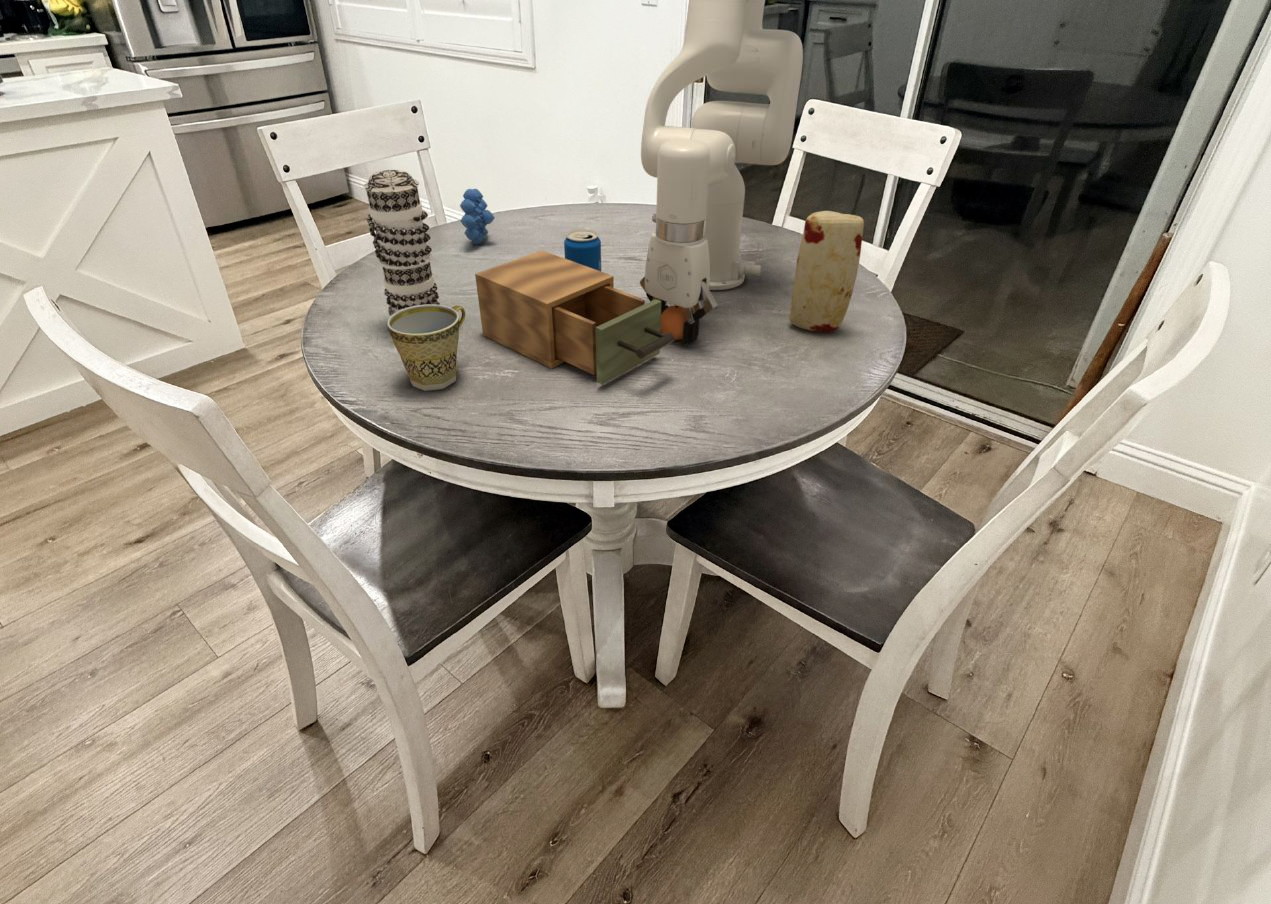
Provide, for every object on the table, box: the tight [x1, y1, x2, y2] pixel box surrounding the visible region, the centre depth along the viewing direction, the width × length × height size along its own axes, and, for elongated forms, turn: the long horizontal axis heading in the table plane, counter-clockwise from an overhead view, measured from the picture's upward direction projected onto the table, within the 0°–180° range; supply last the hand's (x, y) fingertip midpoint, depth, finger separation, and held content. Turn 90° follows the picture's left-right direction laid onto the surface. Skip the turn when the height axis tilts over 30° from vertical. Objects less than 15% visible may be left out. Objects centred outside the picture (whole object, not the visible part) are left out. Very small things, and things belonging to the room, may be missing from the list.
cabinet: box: [474, 250, 615, 369], centre depth 115 cm, size 17×14×11 cm
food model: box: [788, 210, 865, 334], centre depth 115 cm, size 10×7×20 cm
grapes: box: [459, 188, 496, 245], centre depth 149 cm, size 12×7×12 cm, turn 173°
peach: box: [660, 304, 687, 341], centre depth 116 cm, size 6×6×6 cm
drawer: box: [552, 285, 675, 386], centre depth 107 cm, size 21×13×9 cm, turn 49°
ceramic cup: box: [386, 304, 466, 392], centre depth 104 cm, size 13×10×10 cm
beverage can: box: [563, 229, 602, 272], centre depth 127 cm, size 6×6×12 cm
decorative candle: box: [363, 169, 441, 317], centre depth 113 cm, size 9×9×25 cm
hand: (675, 335), depth 118 cm, fingers closed on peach, 5 cm apart
